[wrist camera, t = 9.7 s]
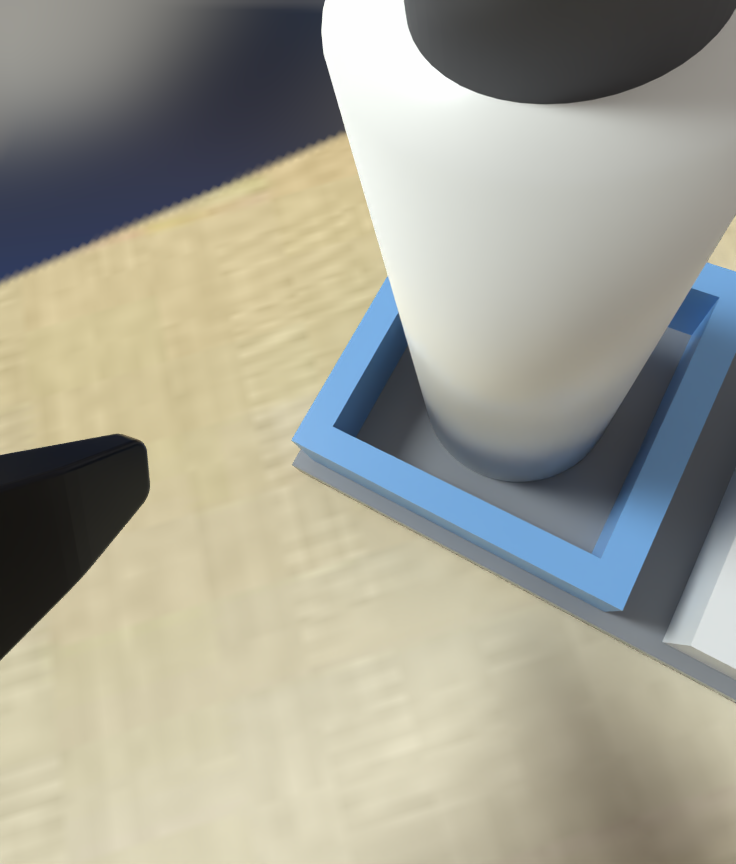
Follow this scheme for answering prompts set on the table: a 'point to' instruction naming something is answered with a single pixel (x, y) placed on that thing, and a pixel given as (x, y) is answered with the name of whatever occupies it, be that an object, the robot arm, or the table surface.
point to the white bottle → (537, 199)
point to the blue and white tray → (569, 486)
